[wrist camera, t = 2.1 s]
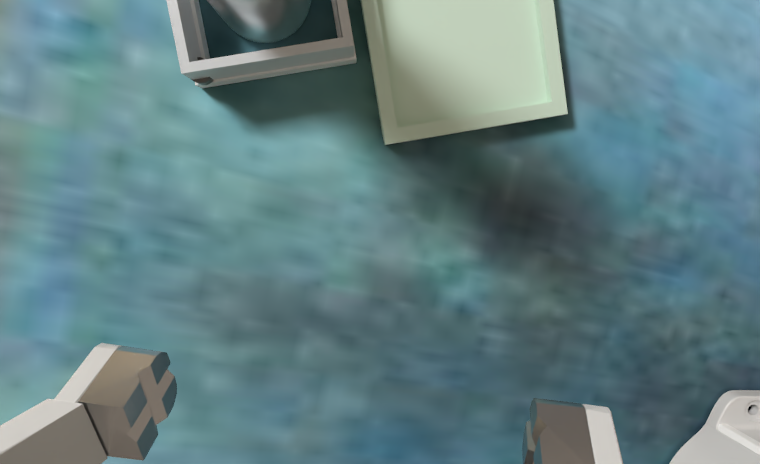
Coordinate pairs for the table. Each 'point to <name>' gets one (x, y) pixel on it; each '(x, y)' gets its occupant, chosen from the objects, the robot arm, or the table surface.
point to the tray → (462, 65)
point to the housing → (259, 62)
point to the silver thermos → (263, 17)
